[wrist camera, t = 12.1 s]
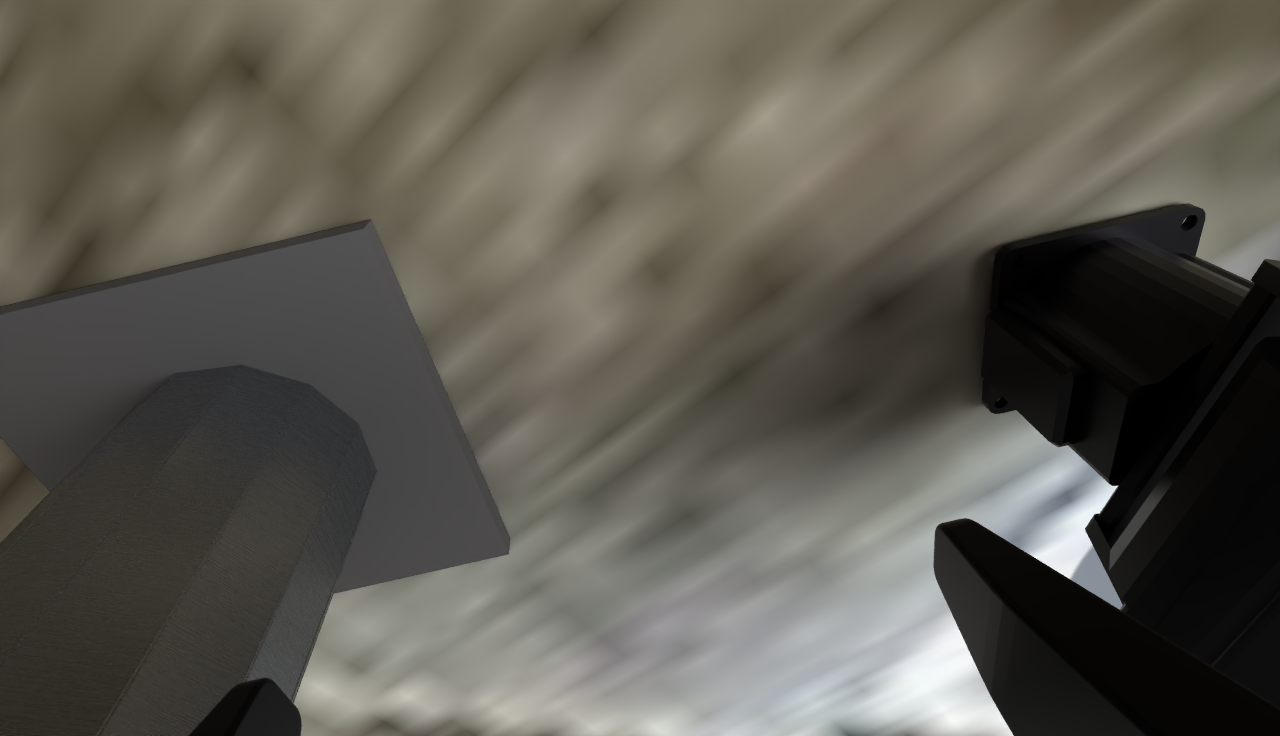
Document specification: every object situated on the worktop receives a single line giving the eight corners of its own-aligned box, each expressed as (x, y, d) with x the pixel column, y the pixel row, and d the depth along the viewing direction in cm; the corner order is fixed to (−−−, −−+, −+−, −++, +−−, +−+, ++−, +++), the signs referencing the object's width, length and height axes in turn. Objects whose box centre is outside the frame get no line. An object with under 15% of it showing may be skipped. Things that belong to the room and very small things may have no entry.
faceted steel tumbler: (236, 323, 19) (-143, 735, 9) (419, 473, 22) (301, 895, 12) (79, 450, 21) (-394, 923, 10) (272, 572, 24) (59, 1018, 14)
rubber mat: (370, 219, 19) (338, 262, 16) (510, 538, 25) (504, 606, 23) (-69, 322, 19) (-176, 382, 16) (186, 611, 26) (141, 687, 23)
